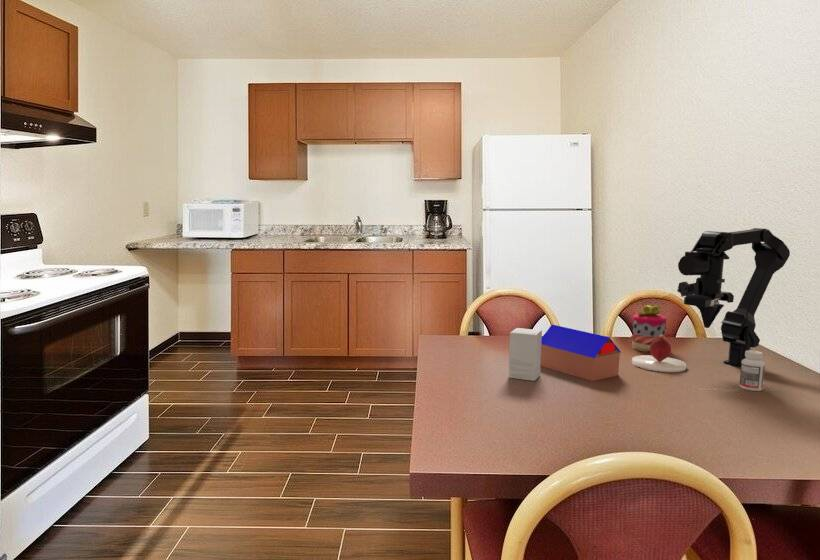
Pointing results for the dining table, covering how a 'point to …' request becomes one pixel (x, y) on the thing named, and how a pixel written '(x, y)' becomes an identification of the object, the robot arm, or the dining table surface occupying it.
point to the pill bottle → (752, 371)
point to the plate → (659, 364)
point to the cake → (647, 328)
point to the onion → (660, 348)
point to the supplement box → (525, 354)
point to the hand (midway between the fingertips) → (706, 327)
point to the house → (579, 353)
